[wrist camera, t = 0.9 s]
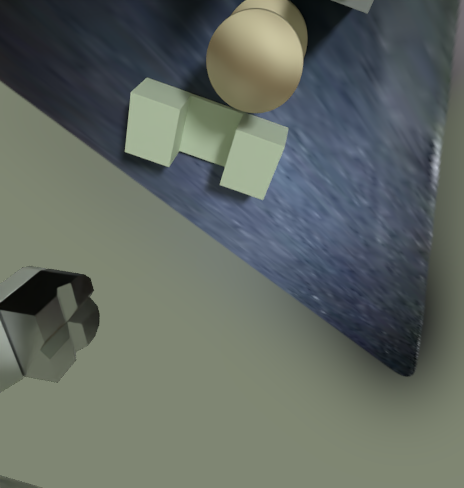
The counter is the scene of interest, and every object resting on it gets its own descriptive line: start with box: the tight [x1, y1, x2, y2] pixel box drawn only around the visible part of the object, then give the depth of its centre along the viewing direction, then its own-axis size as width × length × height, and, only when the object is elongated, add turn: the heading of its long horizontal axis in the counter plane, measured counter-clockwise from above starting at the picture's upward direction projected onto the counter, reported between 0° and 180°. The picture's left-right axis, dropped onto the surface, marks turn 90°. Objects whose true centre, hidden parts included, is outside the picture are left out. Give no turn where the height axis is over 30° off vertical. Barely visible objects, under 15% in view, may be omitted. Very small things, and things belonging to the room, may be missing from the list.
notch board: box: [125, 78, 288, 200], centre depth 44 cm, size 7×16×5 cm, turn 74°
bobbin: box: [206, 0, 308, 113], centre depth 36 cm, size 8×8×8 cm
